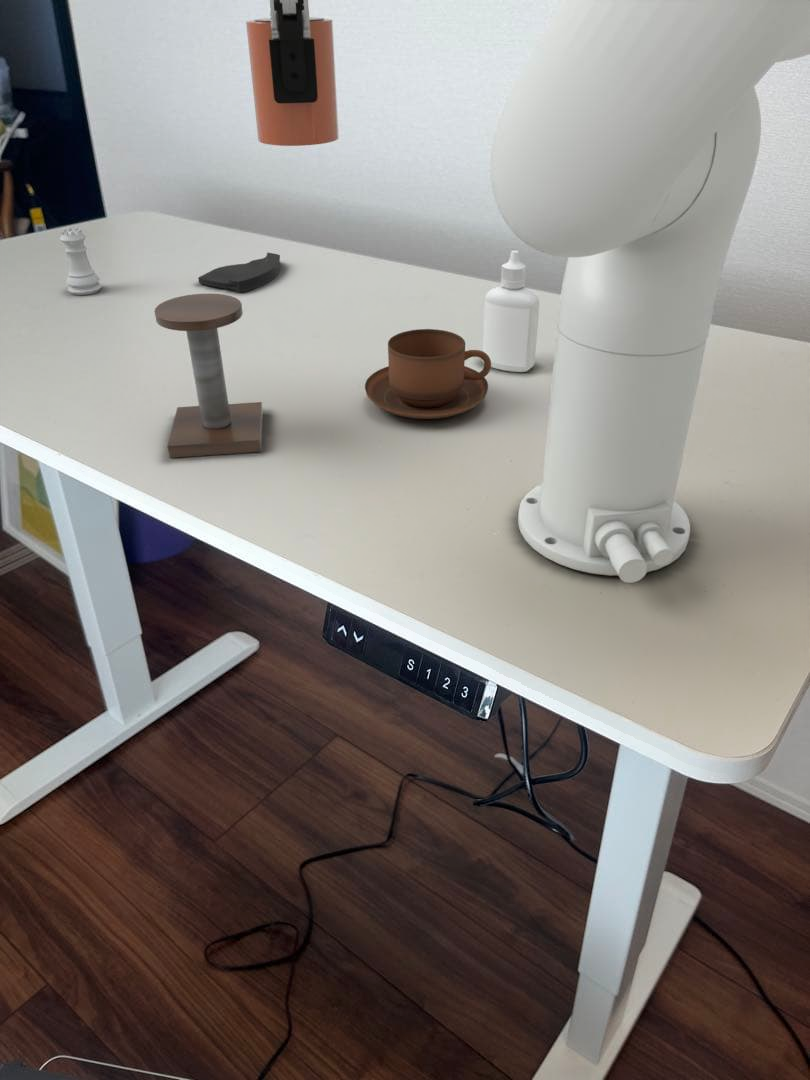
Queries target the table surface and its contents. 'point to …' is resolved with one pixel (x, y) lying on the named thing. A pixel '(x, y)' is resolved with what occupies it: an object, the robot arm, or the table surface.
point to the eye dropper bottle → (511, 320)
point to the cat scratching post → (209, 381)
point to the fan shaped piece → (244, 274)
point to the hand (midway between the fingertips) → (295, 94)
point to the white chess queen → (79, 264)
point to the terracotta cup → (294, 119)
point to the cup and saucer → (428, 376)
